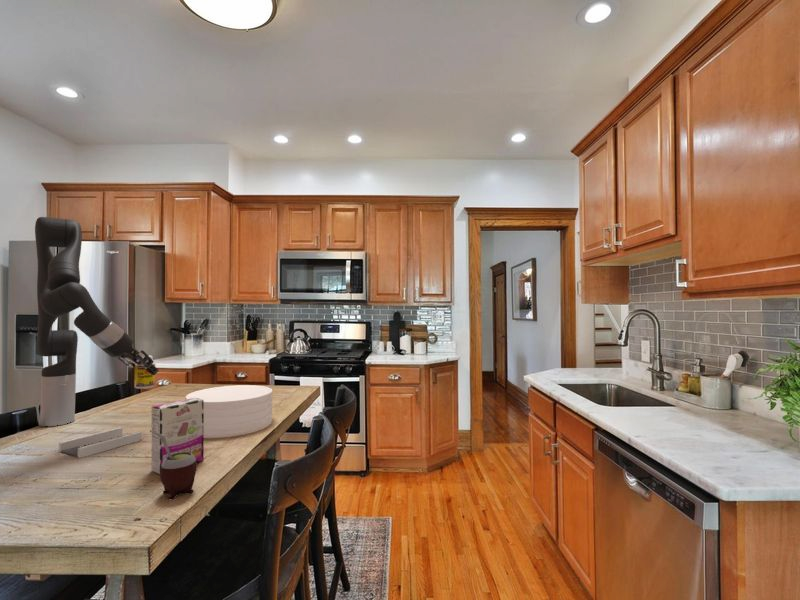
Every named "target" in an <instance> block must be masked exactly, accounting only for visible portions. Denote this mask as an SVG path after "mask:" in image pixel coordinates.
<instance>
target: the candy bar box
mask: <svg viewBox="0 0 800 600" xmlns="http://www.w3.org/2000/svg"><path fill="white" fill-rule="evenodd" d="M203 428H204V400H203V399H199V398H191V399H186V400H185V399H182V400H177V401H171V402H167V403H162V404H157V405H153V406H151V430H152V431H154V432H157V433H160V434H161V435H162V436H163V437H165V439H166V443H167V446H168V448H169V451H170V453H171V454H174V453H179V452H190V453H192V454H193V455H194V457H195V458H196V462H197V463H199V462H202V461H204V455H205V454H204V448H205V447H204V441H205V438H204V430H203ZM167 456H168V454H167V451H166V449H165V446H164V444H163V443H162V441H161V438H160V437H159V436H157V435H155V434H154V433H152V432H151V472H153V473H155V474H156V475H159V476H160V468H161V465H162V462H163V461H164V459H165V458H166V457H167Z"/></svg>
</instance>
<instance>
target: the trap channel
mask: <svg viewBox="0 0 800 600" xmlns="http://www.w3.org/2000/svg"><path fill="white" fill-rule="evenodd" d="M118 436H119V437H118ZM111 438H112V439H111ZM140 440H141V441H142V431H137V432H133V433H128V434H126V435H123V427H121V426H119V427H116V428H113V429H108V430H103V431H101V432H100V431H99V432H96V433H93V434H87V435H84V436H80V437H76V438H72V439H69V440H64V441H61V442H58V452H59V453H62V454H65V453H66V455H68V454H69V455H68V456H71V455H72V456H71V457H74V456H76V457H75V458H78V457H79V458H78V459H82V458H85V457H84V456H86V457H89V456H91V455H92V454H93V455H95V453H96V454H99V453H103V452H105V451H106V452H107V451H109V450H112V449H116V448H119V447H124V446H126V444H127V445H131V444H134V443H137V442H140ZM100 441H101V442H100ZM133 442H134V443H133ZM92 443H93V444H92ZM88 444H89V445H88ZM84 445H86V446H84ZM123 445H124V446H123ZM80 446H82V447H80ZM88 455H89V456H88ZM81 457H82V458H81Z"/></svg>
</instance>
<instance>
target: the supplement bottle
mask: <svg viewBox="0 0 800 600" xmlns="http://www.w3.org/2000/svg"><path fill="white" fill-rule="evenodd" d="M148 356H149V357H150V358H151V359H152V360H153V361H154V359H153V357H154V356H153V355H148ZM138 361H139V360H138ZM146 363H147V362H146ZM152 364H153V365H154V366H155V367H156V362H155V361H154V362H153V363H152ZM155 379H156V374H155V375H152V374H150V373H149V372H148V371H147V370H146V369H144V368H143V367H142V366H140V365H136V364H135V368H134V382H133V384H134V388H135V389H139V390H141V389H149V388H150V389H151V388H153V387H154V386H155V384H156V383H155V381H156V380H155Z"/></svg>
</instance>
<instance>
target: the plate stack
mask: <svg viewBox="0 0 800 600" xmlns="http://www.w3.org/2000/svg"><path fill="white" fill-rule="evenodd" d="M272 395H273V389H272V388H270V387H268V386H263V385H254V384H253V385H252V384H251V385H250V384H241V385H237V384H236V385H225V386H216V387H210V388H204V389H200V390H196V391H192V392H190V393H188V394H187V395H185V397H184V398H185V399H184V400H186V399H191V398H199V399H203V400H204V428H203V430H204V439H219V438H230V437H231V438H232V437H236V436H237V437H238V436H244V435H248V434H251V433H255V432H259V431H261V430H264V429H266V428H268V427H269V426H270V425H271V424H272V423H273V417H272V416H273V410H272V409H273V396H272Z"/></svg>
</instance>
